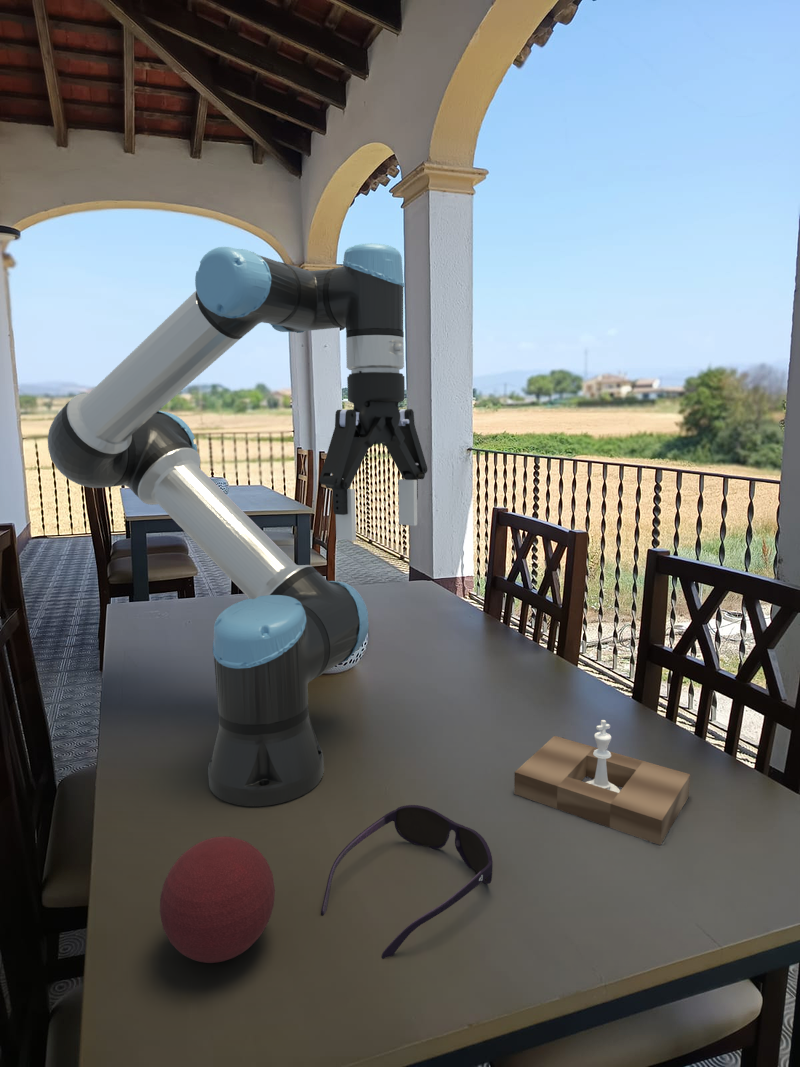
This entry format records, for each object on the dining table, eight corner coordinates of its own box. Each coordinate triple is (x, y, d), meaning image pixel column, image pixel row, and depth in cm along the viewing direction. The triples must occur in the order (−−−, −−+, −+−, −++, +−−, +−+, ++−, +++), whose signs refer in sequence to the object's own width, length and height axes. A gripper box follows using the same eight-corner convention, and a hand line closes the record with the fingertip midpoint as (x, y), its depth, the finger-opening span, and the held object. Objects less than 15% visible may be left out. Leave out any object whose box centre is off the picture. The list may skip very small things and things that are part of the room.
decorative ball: (152, 933, 64) (144, 836, 62) (255, 893, 69) (250, 803, 67) (180, 1011, 55) (171, 901, 54) (294, 959, 61) (289, 857, 59)
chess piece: (572, 789, 87) (574, 715, 86) (604, 781, 89) (607, 709, 87) (596, 809, 83) (599, 732, 81) (629, 801, 84) (633, 725, 83)
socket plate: (660, 845, 76) (661, 820, 75) (514, 793, 86) (514, 772, 86) (688, 796, 85) (690, 774, 85) (553, 755, 96) (554, 735, 95)
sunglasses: (507, 884, 70) (508, 840, 69) (408, 980, 59) (408, 928, 58) (407, 833, 79) (406, 793, 78) (303, 907, 67) (301, 861, 67)
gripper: (333, 366, 78) (338, 549, 81) (451, 374, 97) (451, 521, 101) (286, 369, 82) (293, 543, 86) (408, 376, 102) (410, 517, 105)
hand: (378, 531), depth 93 cm, fingers open, 13 cm apart
